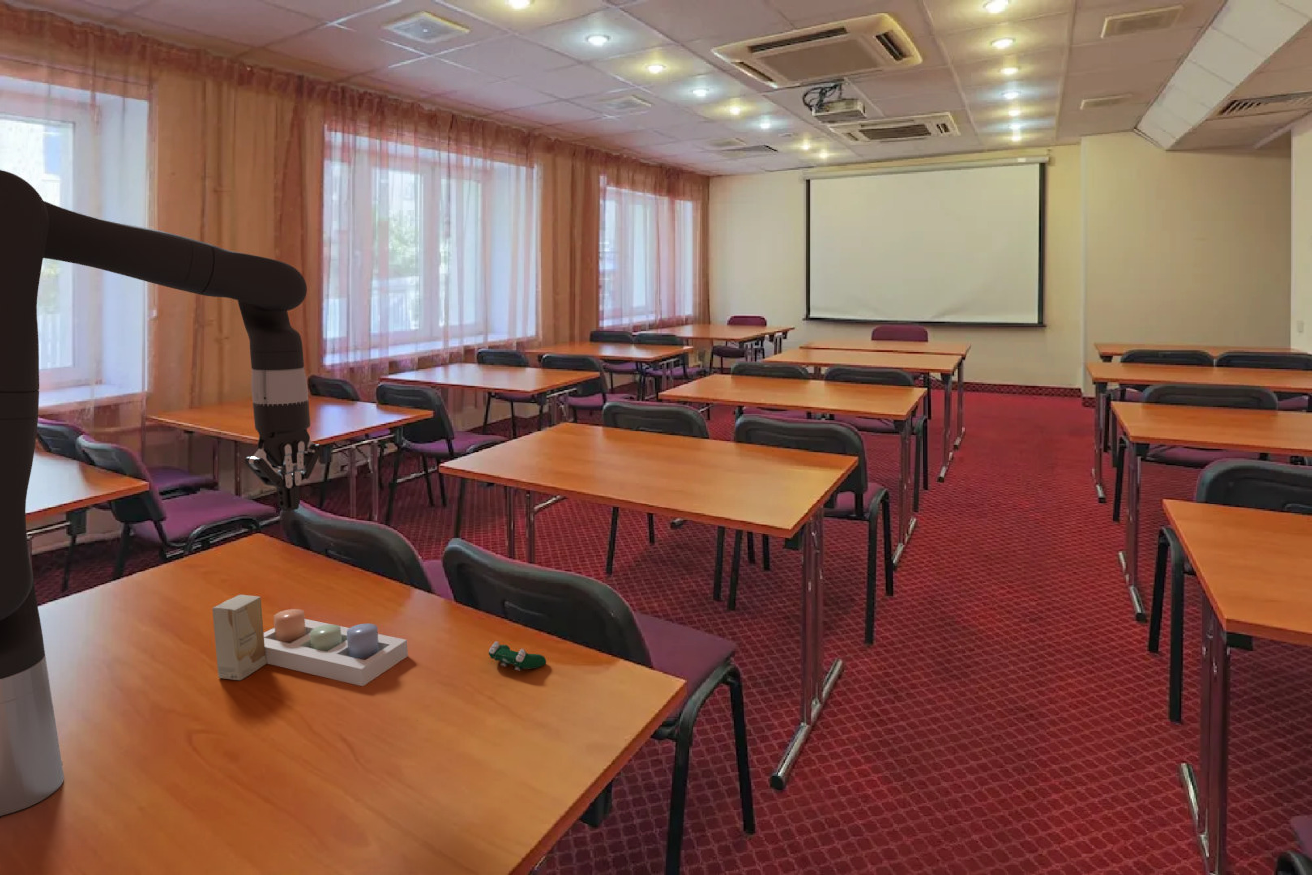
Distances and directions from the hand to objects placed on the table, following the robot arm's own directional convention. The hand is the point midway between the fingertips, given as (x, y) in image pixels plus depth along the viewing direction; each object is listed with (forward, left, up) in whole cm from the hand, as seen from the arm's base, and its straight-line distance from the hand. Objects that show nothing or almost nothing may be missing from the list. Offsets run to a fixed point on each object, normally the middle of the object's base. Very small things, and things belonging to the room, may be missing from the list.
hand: (290, 509), depth 115 cm
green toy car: (+18, -29, -29) cm, 45 cm away
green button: (+8, +3, -28) cm, 29 cm away
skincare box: (-1, +12, -29) cm, 32 cm away
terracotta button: (+8, +11, -27) cm, 30 cm away
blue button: (+8, -5, -27) cm, 28 cm away
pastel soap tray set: (+8, +3, -29) cm, 30 cm away
